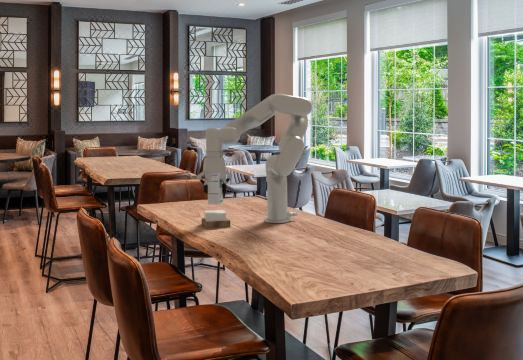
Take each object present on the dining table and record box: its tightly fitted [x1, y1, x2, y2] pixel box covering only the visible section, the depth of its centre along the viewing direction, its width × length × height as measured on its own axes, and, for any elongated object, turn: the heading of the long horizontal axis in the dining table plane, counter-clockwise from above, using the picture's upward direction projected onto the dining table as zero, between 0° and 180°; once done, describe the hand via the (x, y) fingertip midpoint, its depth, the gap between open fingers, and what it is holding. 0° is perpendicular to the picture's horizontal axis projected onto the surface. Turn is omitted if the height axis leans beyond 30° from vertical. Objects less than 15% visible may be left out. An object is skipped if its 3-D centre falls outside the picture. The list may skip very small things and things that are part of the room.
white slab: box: [203, 209, 227, 222], centre depth 291 cm, size 9×9×4 cm
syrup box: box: [207, 173, 224, 205], centre depth 289 cm, size 6×6×14 cm
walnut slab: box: [201, 217, 231, 229], centre depth 291 cm, size 11×11×4 cm
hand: (215, 192), depth 289 cm, fingers closed on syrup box, 7 cm apart
